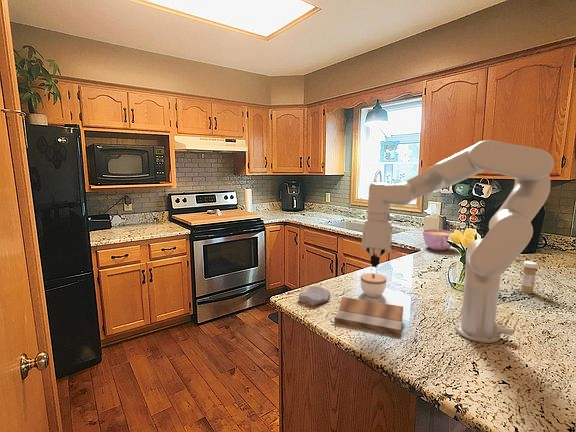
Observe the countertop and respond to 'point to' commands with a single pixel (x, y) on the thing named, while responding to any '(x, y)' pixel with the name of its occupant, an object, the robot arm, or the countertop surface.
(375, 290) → the lidded jar
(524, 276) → the sprinkles bottle
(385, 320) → the walnut board
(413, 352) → the countertop surface
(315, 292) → the stone block
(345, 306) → the chestnut plank
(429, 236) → the bowl of food
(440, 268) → the countertop surface
